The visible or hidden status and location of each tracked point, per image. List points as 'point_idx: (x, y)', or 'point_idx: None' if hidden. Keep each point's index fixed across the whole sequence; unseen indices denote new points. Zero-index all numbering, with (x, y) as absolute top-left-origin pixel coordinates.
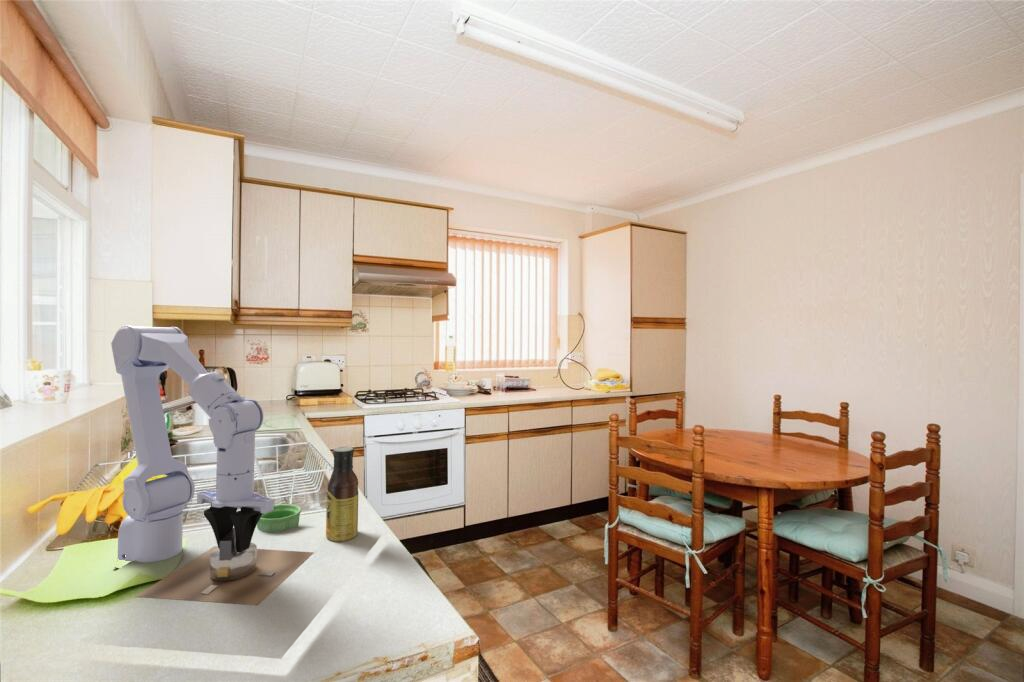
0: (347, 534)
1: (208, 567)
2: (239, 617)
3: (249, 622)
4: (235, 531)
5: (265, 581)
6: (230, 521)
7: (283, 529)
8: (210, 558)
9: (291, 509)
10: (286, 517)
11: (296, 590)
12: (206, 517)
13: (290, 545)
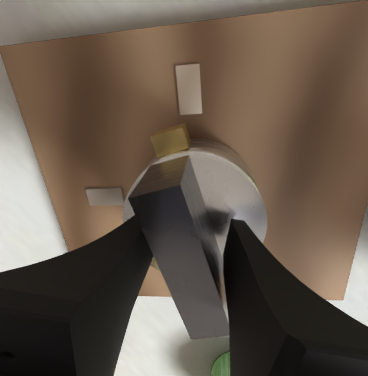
0: None
1: (284, 204)
2: (49, 26)
3: (6, 9)
4: (124, 247)
5: (81, 164)
6: (234, 333)
7: (222, 370)
8: (244, 174)
9: None
10: None
11: (27, 169)
12: (355, 323)
13: (183, 326)
